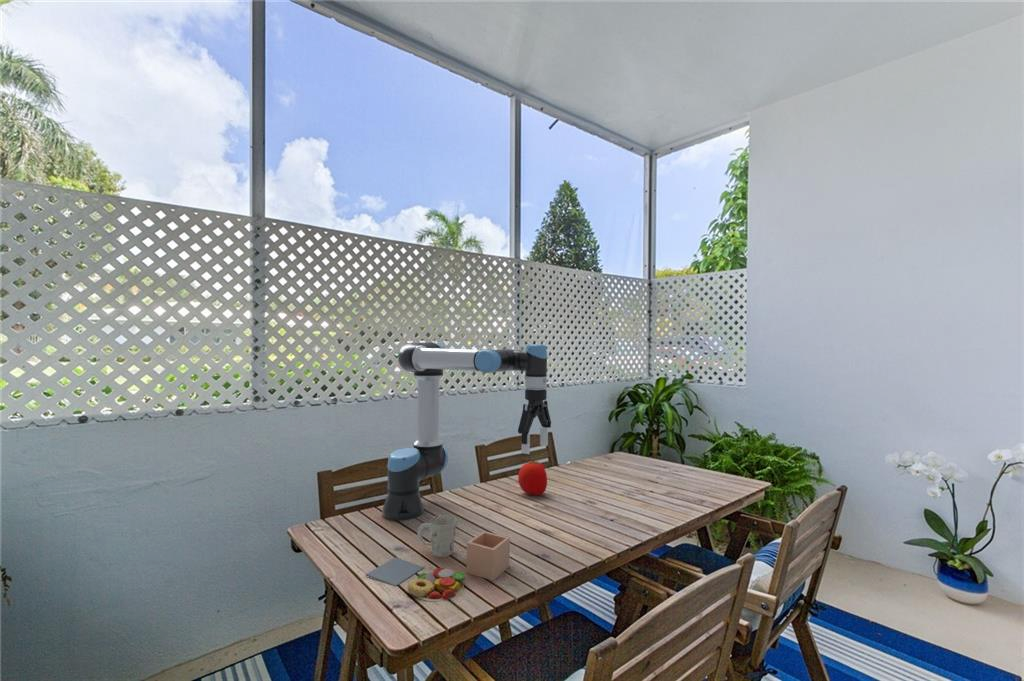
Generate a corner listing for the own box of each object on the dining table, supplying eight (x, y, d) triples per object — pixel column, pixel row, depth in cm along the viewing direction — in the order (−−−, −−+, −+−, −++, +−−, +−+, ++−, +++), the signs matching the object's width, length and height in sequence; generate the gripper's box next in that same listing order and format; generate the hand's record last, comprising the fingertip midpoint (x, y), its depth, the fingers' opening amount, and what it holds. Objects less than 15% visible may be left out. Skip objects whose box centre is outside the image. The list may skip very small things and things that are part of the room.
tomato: (552, 493, 188) (552, 460, 188) (539, 501, 178) (539, 466, 178) (526, 488, 194) (527, 455, 195) (512, 495, 185) (513, 461, 185)
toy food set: (401, 599, 110) (401, 586, 110) (429, 573, 122) (429, 561, 122) (448, 611, 105) (448, 597, 105) (473, 583, 117) (473, 570, 117)
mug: (451, 561, 129) (451, 526, 129) (410, 556, 131) (411, 522, 131) (460, 548, 137) (460, 516, 137) (422, 544, 139) (422, 512, 139)
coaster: (365, 576, 120) (365, 574, 120) (395, 559, 129) (395, 557, 129) (395, 587, 114) (396, 585, 114) (424, 569, 124) (424, 567, 124)
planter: (466, 575, 121) (466, 542, 121) (483, 562, 128) (484, 531, 128) (493, 584, 116) (493, 550, 117) (509, 570, 124) (509, 537, 124)
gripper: (527, 392, 142) (527, 458, 142) (560, 386, 163) (559, 443, 163) (508, 390, 146) (507, 455, 146) (542, 385, 167) (541, 441, 167)
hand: (535, 449), depth 154 cm, fingers open, 13 cm apart
